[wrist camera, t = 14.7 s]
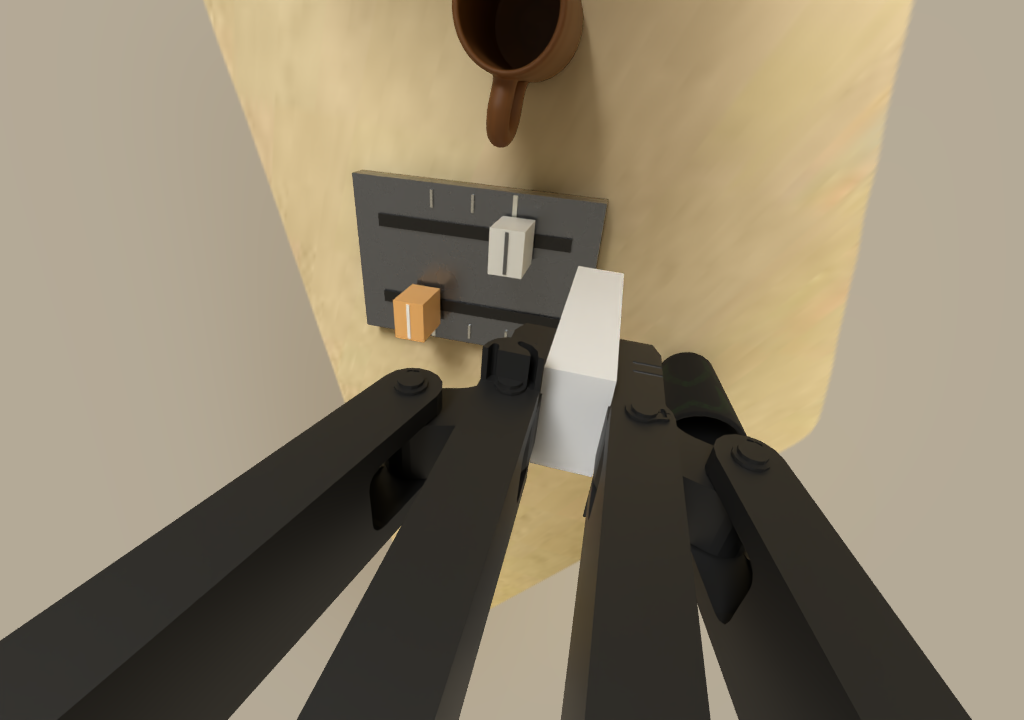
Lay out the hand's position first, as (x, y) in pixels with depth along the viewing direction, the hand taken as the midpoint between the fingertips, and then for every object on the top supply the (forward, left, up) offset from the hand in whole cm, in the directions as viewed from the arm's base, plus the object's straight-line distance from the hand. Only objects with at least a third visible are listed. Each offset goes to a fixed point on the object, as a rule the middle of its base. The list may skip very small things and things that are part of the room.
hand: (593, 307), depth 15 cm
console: (+10, -13, -29) cm, 33 cm away
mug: (-8, -9, -29) cm, 31 cm away
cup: (+18, +10, -29) cm, 36 cm away
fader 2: (+6, -8, -26) cm, 28 cm away
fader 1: (+14, -17, -26) cm, 34 cm away
